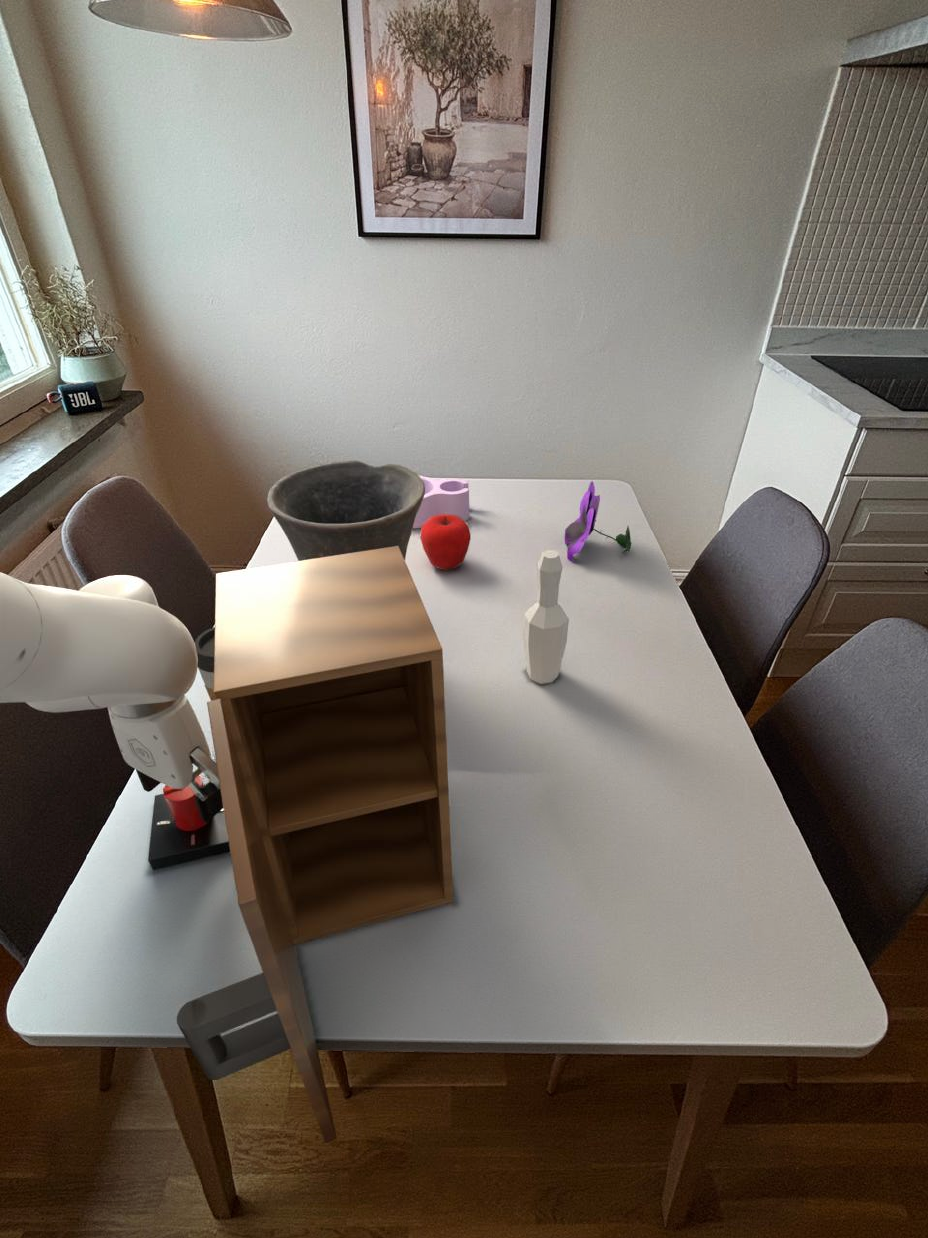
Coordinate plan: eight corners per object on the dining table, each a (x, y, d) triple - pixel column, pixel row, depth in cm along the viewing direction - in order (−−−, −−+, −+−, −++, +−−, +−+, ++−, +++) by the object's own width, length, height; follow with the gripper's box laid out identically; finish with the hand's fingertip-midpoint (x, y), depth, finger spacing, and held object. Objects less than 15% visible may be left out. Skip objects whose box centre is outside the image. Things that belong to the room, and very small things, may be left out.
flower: (606, 555, 148) (553, 529, 145) (648, 500, 140) (592, 471, 137) (616, 592, 136) (558, 564, 133) (662, 534, 128) (601, 503, 125)
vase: (272, 665, 111) (233, 496, 94) (362, 604, 125) (343, 447, 108) (372, 719, 101) (349, 540, 83) (458, 645, 115) (454, 479, 97)
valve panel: (240, 850, 82) (236, 838, 81) (152, 870, 80) (147, 859, 79) (238, 788, 90) (235, 777, 89) (159, 805, 88) (154, 794, 87)
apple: (412, 564, 137) (409, 515, 130) (449, 548, 142) (448, 500, 135) (443, 584, 131) (441, 533, 124) (480, 566, 135) (480, 517, 129)
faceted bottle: (514, 670, 109) (518, 550, 96) (545, 656, 112) (554, 538, 99) (539, 692, 105) (546, 570, 92) (570, 677, 108) (582, 557, 95)
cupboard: (453, 901, 76) (442, 648, 56) (290, 946, 73) (213, 692, 52) (417, 782, 91) (398, 545, 70) (280, 814, 87) (215, 573, 66)
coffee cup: (203, 734, 99) (176, 652, 90) (236, 697, 105) (214, 617, 96) (253, 746, 96) (230, 664, 88) (283, 708, 103) (265, 628, 94)
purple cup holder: (468, 501, 159) (467, 474, 155) (469, 526, 149) (469, 498, 145) (382, 504, 159) (380, 476, 155) (378, 529, 149) (375, 500, 145)
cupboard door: (247, 1181, 56) (110, 950, 35) (222, 978, 70) (113, 726, 49) (336, 1138, 58) (256, 899, 38) (295, 950, 72) (220, 698, 51)
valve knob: (211, 798, 86) (200, 766, 83) (213, 825, 83) (202, 793, 80) (175, 808, 85) (162, 776, 82) (175, 835, 82) (162, 804, 79)
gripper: (60, 683, 73) (110, 793, 82) (173, 737, 66) (214, 850, 75) (120, 646, 78) (160, 753, 88) (230, 692, 71) (261, 803, 81)
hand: (185, 798), depth 81 cm, fingers open, 9 cm apart
